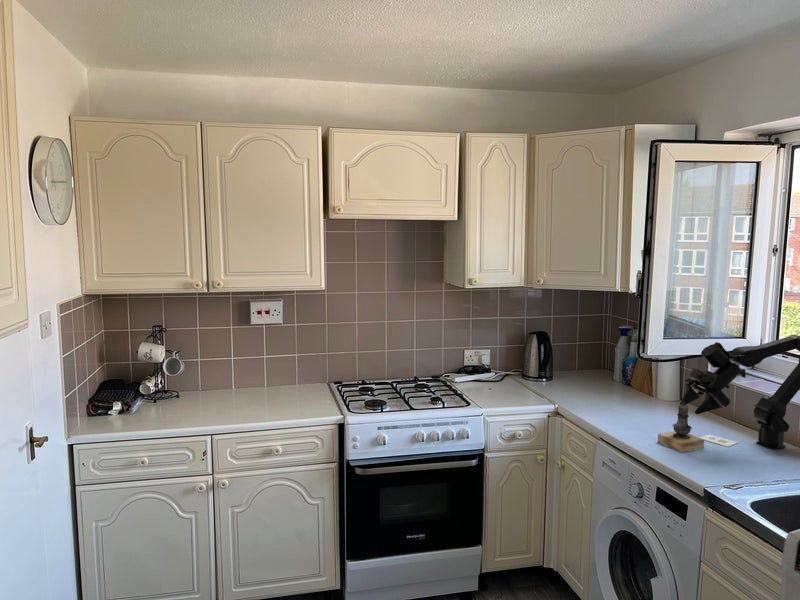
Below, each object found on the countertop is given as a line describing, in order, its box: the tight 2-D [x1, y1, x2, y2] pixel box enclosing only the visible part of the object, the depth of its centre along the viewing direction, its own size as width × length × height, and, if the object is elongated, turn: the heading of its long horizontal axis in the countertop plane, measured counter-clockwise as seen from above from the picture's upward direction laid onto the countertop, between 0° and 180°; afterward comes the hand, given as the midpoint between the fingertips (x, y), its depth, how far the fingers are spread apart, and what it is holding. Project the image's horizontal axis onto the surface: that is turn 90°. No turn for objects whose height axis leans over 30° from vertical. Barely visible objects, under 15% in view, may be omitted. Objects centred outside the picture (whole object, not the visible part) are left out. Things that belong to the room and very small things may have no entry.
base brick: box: [657, 430, 705, 453], centre depth 195 cm, size 10×10×3 cm
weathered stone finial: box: [672, 402, 693, 439], centre depth 195 cm, size 6×6×12 cm
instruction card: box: [698, 434, 739, 448], centre depth 200 cm, size 10×7×1 cm
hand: (688, 409), depth 194 cm, fingers open, 9 cm apart
